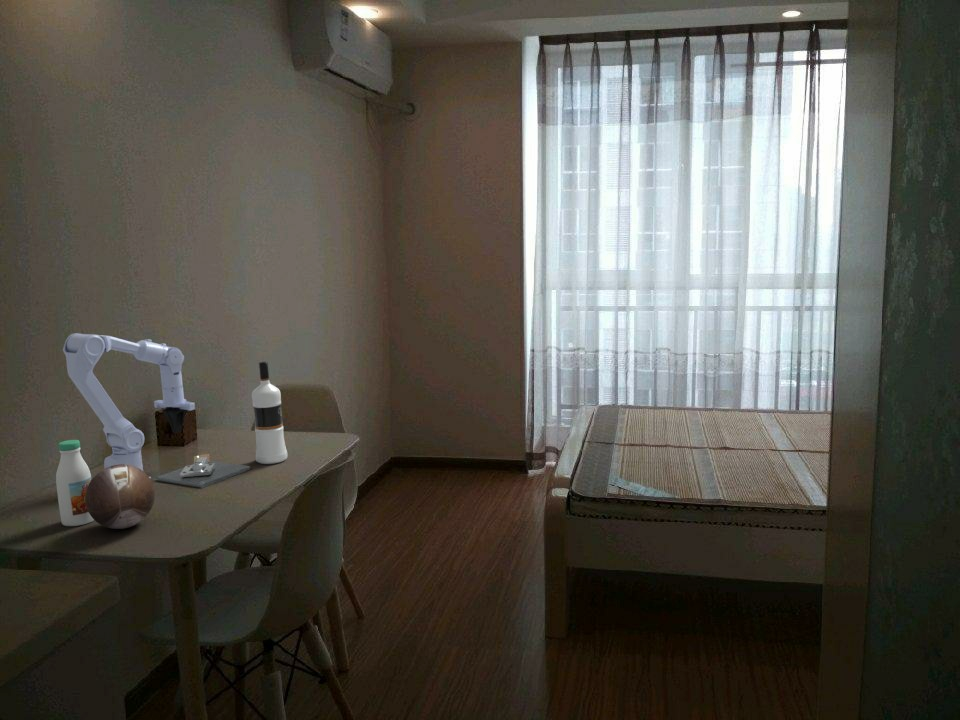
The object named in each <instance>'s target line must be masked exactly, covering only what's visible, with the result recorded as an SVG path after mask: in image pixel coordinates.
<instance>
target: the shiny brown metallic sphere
mask: <svg viewBox="0 0 960 720" xmlns="http://www.w3.org/2000/svg"><path fill="white" fill-rule="evenodd" d="M149 477H150V476H149V475H148V474H147V473H146V472H145V471H144V470H143V471H142V470H141V469H139V468H137V467H135V466H131V465H125V464H119V465H113V466H110V467H107V468H105V469H104V468H103V469H102V470H100V471H99V472H97V473H96V474H95V475H94V476H93V477H92V478H91V479H92V480H91V481H90V483H89V485H88V487H87V490H86V495H85V503H86V507H87V510H88V512H89V514H90V515H91V517H92V518H93V519H94V520H93V521H95V522H96V523H97V524H98V525H101V526H103V527H105V528H108V529H114V530H120V529H121V530H123V529H128V528H131V527H134V526H136V525H137V524H139V523H141V522H142V521H143V520H144V519H145V518H146V517H147V516H148V515H149V514H150V511H151V510H152V509H153V506H154V504H155V503H154V502H155V499H156V491H155V490H156V489H155V486H154V483H153V481H152V478H151V479H150V478H149Z"/></svg>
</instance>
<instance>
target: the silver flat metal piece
mask: <svg viewBox="0 0 960 720" xmlns="http://www.w3.org/2000/svg"><path fill="white" fill-rule="evenodd" d="M198 456H199V458H198V459H197V461H196V463H203V469H204V470H196V471H192V470H193V468H192V464H190V465H188V464H187V465H185V466H184V467H185V468H184V467H183V468H184V469H183V470H182V472H181V473H180V477H189V476H201V475H210V474H211V473H212V471H213V469H214V468H215V463H212V464H208V463H209V461H211V459H210V454H209V453H206V454H199V455H198Z"/></svg>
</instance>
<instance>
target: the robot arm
mask: <svg viewBox="0 0 960 720" xmlns="http://www.w3.org/2000/svg"><path fill="white" fill-rule="evenodd" d="M152 341H153V340H152V339H149V338H148V339H147V338H145V339H141V340H139V341H137V342H133V341H129V340H126V339H121V338H119V337H116V336H115V337H114V336H111V335H104V334H103V335H100V334H93V333H92V334H87V333H85V334H84V333H78V332H77V333H76V332H75V333H71V334H70V335H68V337H67V338H66V339H65V342H64V345H63V347H62V352H63V354H64V356H65V360H66V369H67V375H68V377H69V378H70V380H71V381H72V383H73V384H74V386H75V387H76V388H77V390H78V391H79V392H80V395H82V397H83V398H84V399H85V402H87V403H88V405H89V406H90V408H91V409H92V411H93V412H94V414H95V415H96V416H97V418H98V420H100V422H101V423H102V425H103V429H102V432H104V434H105V436H106V437H105V438H106V439H105V440H106V443H107V444H108V446H110V447H111V450H112V453H111V454H110V455H109V456H107V457H105V459H104V461H103V469H105V468H107V467H110V466H113V465H119V464H125V465H131V466H135V467H137V468H139V469H141V470H142V471H144V468H143V467H144V466H143V458H142V447H143V446H144V443H145V435H144V432H142V430H141V429H138V428H136V427H135V426H134V424H133V423H132V422H130V421H129V420H128V419H126V418H125V417H124V416H123V414H122V413H121V412H120V410H119V409H118V407H117V405H116V404H115V403H114V402H113V399H112V398H111V397H110V395H109V394H108V393H107V391H106V390H105V389H104V387H103V385H102V384H101V383H100V381H99V380H98V379H97V377H96V375H95V374H94V368H95V366H96V364H97V363H98V362H99V360H100V358H101V357H102V355H103V354H104V353H108V352H109V351H110V350H111V351H116V352H121V353H127V354H131V355H133V356H134V358H135V359H136V360H138V361H142V362H146V363H151V364H154V365H155V364H156V365H158V366H159V373H160V381H161V392H162V399H157V400H154V401H153V404H154V408H155V409H156V408H163V409H164V410H162V415H163V416H164V417H165V419H166V420H167V422H168V424H169V426H170V429H171V431H172V434H179V433H182V430H183V424H184V421H185V420H184V419H185V417H186V414H187V413H188V411H193V410H196V405H195V402H191V401H187V399H186V398H185V395H184V386H183V385H184V384H183V375H182V365H183V364H184V360H185V355H183V352H182V351H181V350H180V348H179V347H175V346H168V345H167V344H166V343H163V342H162V343H157V342H152ZM149 478H150V479H151V480H152V477H151V476H149Z"/></svg>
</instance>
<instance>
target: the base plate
mask: <svg viewBox="0 0 960 720" xmlns="http://www.w3.org/2000/svg"><path fill="white" fill-rule="evenodd" d="M199 456H200V455H194V456H193V463H192V464H191V465H192V468H193V470H192V471H196V470H204V469H203V463H196V461H197V459H198V458H199ZM212 463H215V468H214V469H213V471H212V473H211V474H210V475H201V476H189V477H180V473H181V472H182V470H183V469H184V468H185V466H184V467H182V468H178V469H176V470H173V471H169V472H166V473H164V474H161V475H158V476H156V477H155V479H156V480H155V481H158V482H162V483H163V482H164V483H168V484H169V483H170V484H174V485H175V484H177V485H182V486H187V487H193V488H200V489H203V488H205V487H208V486H210V485H214V484H216V483H219V482H221V481H223V480H226V479H229V478H232V477H235V476H237V475H239V474H242V473H245V472H247V471H250V470H251V466H250V465H244V464H237V463H232V462H231V463H229V462H224V461H223V462H222V461H216V460H210V461H209V463H208V464H212Z"/></svg>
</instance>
